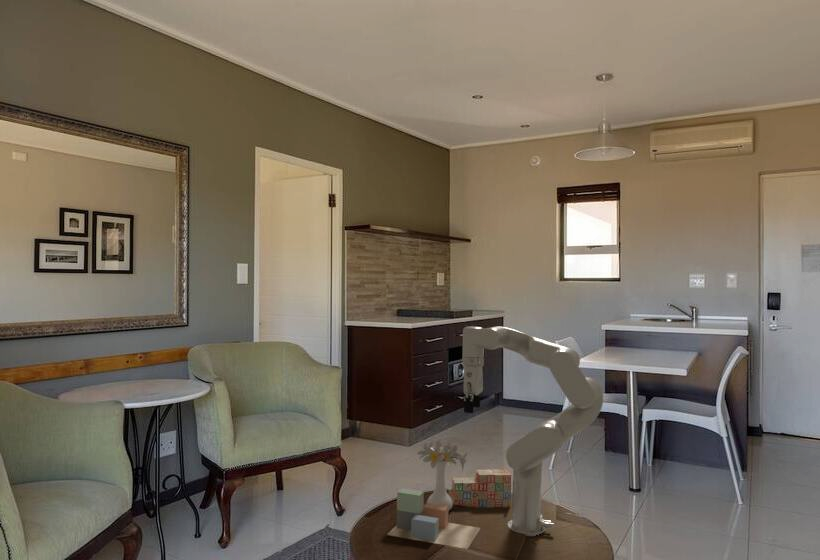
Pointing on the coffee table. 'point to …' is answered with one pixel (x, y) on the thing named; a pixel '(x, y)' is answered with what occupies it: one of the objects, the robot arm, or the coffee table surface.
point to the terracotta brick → (437, 513)
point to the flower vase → (441, 469)
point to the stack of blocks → (483, 489)
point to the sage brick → (410, 501)
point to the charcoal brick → (405, 519)
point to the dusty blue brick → (425, 528)
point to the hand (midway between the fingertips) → (472, 409)
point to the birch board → (445, 535)
